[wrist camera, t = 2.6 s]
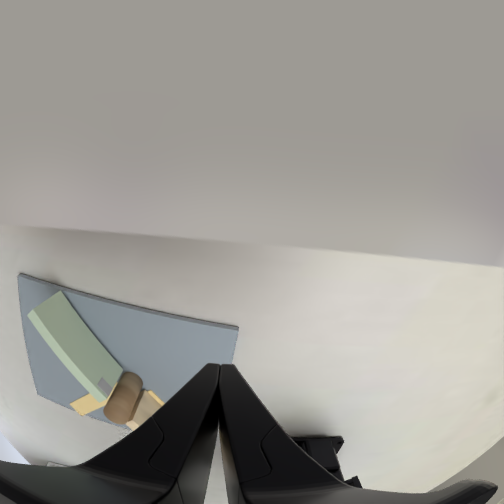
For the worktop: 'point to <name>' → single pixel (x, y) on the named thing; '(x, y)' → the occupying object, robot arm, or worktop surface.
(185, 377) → the board
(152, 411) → the wooden wall with posts
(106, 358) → the fence panel
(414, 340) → the worktop surface
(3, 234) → the worktop surface
